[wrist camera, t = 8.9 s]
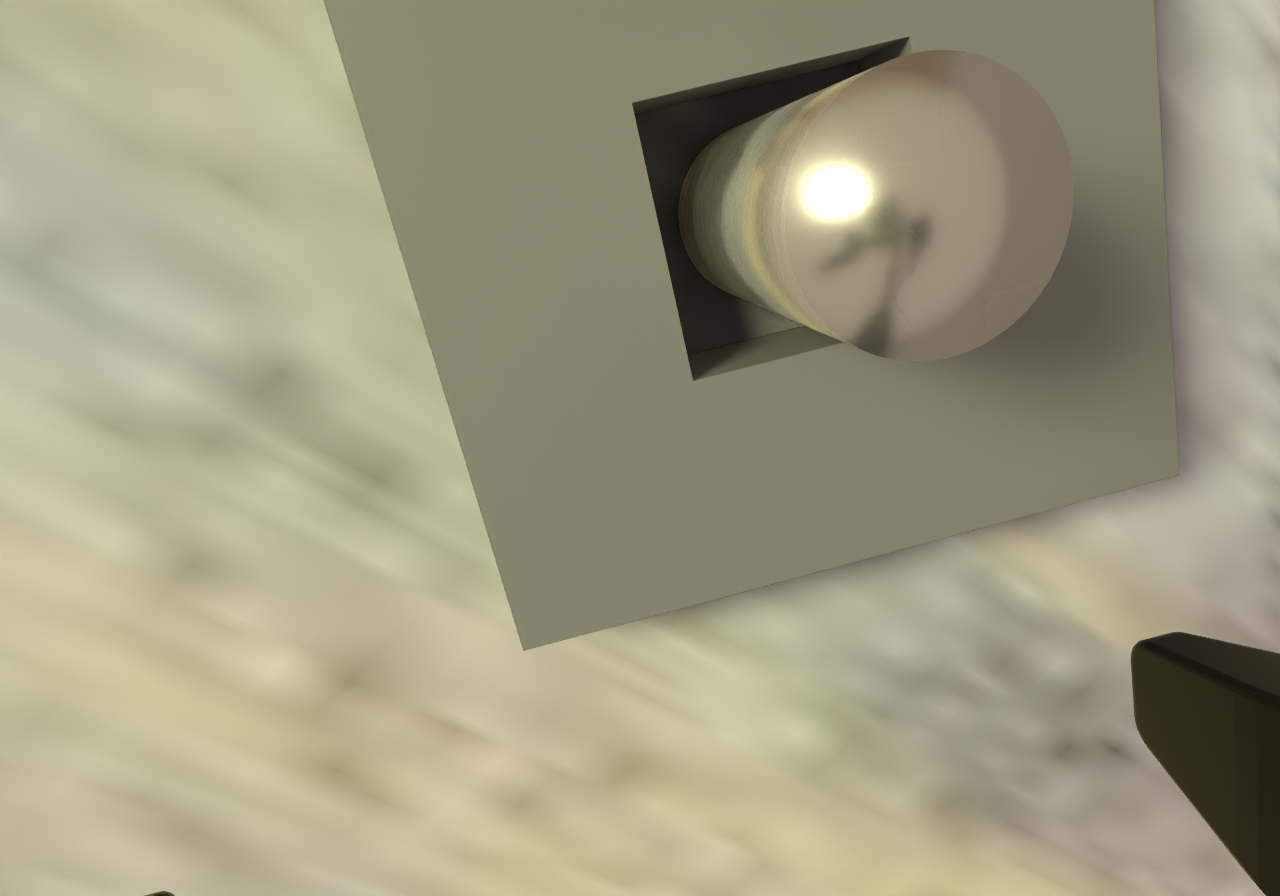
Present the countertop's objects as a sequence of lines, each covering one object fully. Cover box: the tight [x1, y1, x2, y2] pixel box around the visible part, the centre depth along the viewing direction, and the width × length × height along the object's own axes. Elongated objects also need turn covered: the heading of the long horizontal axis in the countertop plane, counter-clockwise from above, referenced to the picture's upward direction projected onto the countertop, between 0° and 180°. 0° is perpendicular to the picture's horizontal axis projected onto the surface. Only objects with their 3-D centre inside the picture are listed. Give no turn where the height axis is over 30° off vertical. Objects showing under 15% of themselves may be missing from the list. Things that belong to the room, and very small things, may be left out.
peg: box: [678, 50, 1074, 362], centre depth 14 cm, size 4×4×8 cm
